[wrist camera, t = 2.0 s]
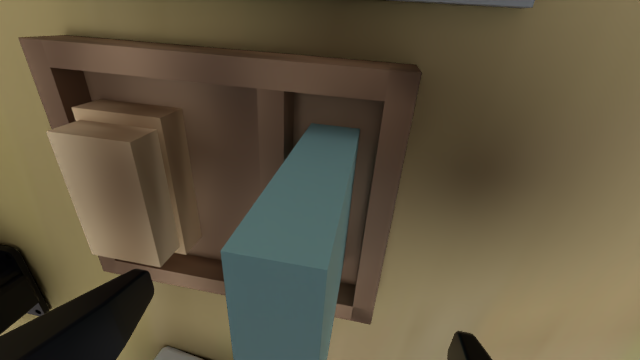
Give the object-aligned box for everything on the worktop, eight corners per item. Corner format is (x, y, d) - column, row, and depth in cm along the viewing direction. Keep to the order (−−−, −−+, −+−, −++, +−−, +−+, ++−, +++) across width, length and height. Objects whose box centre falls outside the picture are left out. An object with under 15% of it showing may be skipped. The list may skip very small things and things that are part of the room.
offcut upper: (116, 234, 16) (92, 254, 14) (80, 120, 13) (45, 131, 12) (180, 246, 15) (160, 267, 14) (156, 129, 12) (129, 142, 11)
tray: (129, 248, 19) (103, 271, 17) (65, 35, 14) (18, 37, 12) (372, 293, 17) (370, 324, 15) (416, 64, 12) (421, 72, 10)
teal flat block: (305, 254, 16) (242, 437, 9) (311, 123, 13) (220, 251, 6) (343, 261, 16) (310, 455, 9) (360, 128, 12) (327, 270, 5)
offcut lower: (135, 224, 17) (114, 241, 16) (100, 99, 14) (71, 107, 13) (201, 236, 17) (186, 254, 15) (182, 108, 13) (159, 118, 12)
